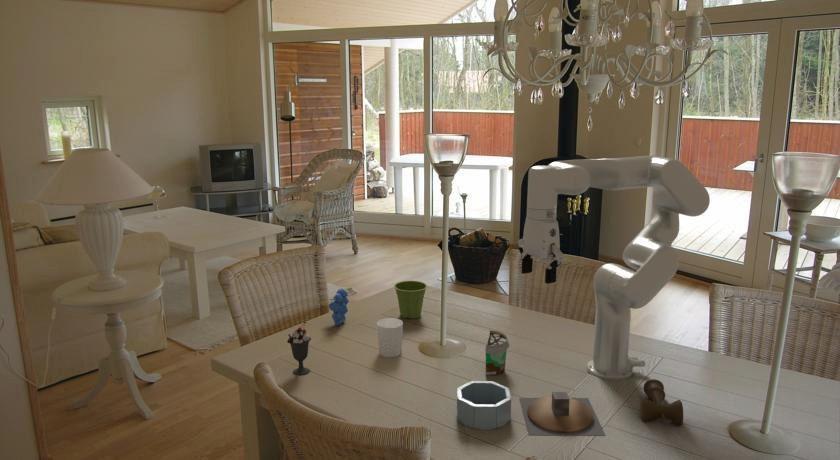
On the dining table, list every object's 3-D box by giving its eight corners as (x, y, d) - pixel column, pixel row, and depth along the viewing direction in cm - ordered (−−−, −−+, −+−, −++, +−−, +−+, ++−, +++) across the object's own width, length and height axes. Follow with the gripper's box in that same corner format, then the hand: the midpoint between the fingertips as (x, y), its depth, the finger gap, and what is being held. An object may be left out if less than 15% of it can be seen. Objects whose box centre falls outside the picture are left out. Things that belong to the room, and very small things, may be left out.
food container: (507, 381, 178) (507, 347, 175) (485, 379, 179) (485, 346, 177) (510, 362, 190) (510, 330, 187) (489, 360, 191) (489, 329, 188)
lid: (585, 399, 166) (586, 380, 165) (600, 433, 150) (601, 412, 149) (523, 399, 167) (523, 380, 165) (532, 432, 151) (532, 411, 150)
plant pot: (415, 324, 220) (415, 293, 217) (387, 317, 226) (387, 287, 224) (433, 313, 230) (433, 283, 227) (406, 307, 236) (406, 278, 233)
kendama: (672, 398, 169) (686, 437, 149) (633, 396, 171) (643, 434, 151) (673, 377, 167) (688, 413, 148) (634, 375, 169) (644, 410, 150)
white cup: (373, 356, 195) (372, 325, 192) (384, 346, 202) (383, 316, 200) (397, 360, 192) (396, 329, 190) (407, 350, 199) (406, 319, 197)
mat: (587, 399, 167) (588, 397, 167) (605, 437, 150) (605, 435, 150) (519, 399, 168) (519, 397, 168) (528, 437, 150) (528, 435, 150)
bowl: (506, 404, 165) (507, 381, 164) (512, 431, 153) (513, 406, 151) (456, 403, 166) (456, 381, 164) (458, 430, 153) (458, 406, 152)
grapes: (335, 315, 228) (333, 283, 226) (353, 317, 227) (351, 285, 224) (323, 327, 217) (321, 294, 215) (342, 329, 216) (340, 295, 213)
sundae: (317, 369, 187) (314, 320, 183) (304, 378, 181) (301, 329, 177) (298, 365, 189) (295, 317, 186) (285, 374, 183) (281, 325, 180)
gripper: (575, 219, 158) (571, 284, 162) (531, 207, 173) (529, 267, 177) (552, 222, 155) (548, 289, 159) (509, 209, 170) (507, 271, 174)
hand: (538, 277), depth 168 cm, fingers open, 9 cm apart
